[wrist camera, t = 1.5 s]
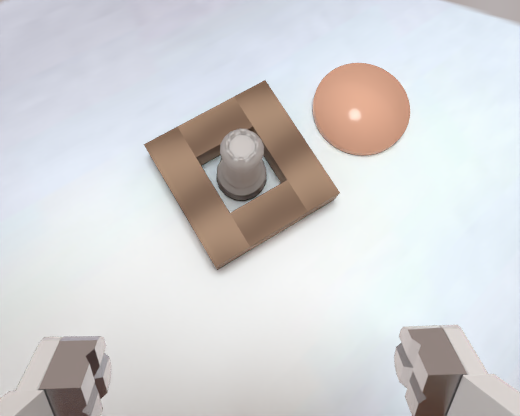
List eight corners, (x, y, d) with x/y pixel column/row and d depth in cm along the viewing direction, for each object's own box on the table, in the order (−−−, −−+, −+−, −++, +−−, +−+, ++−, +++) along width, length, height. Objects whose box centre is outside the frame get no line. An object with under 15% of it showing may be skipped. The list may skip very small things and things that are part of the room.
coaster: (294, 94, 41) (295, 90, 40) (371, 52, 42) (374, 47, 41) (347, 172, 39) (349, 170, 38) (425, 126, 40) (429, 122, 40)
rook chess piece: (259, 207, 38) (264, 181, 30) (210, 194, 38) (203, 165, 30) (271, 160, 39) (279, 124, 31) (223, 148, 39) (220, 109, 31)
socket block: (149, 154, 39) (143, 144, 36) (263, 93, 40) (265, 80, 38) (217, 269, 36) (215, 267, 34) (333, 200, 38) (339, 192, 36)
